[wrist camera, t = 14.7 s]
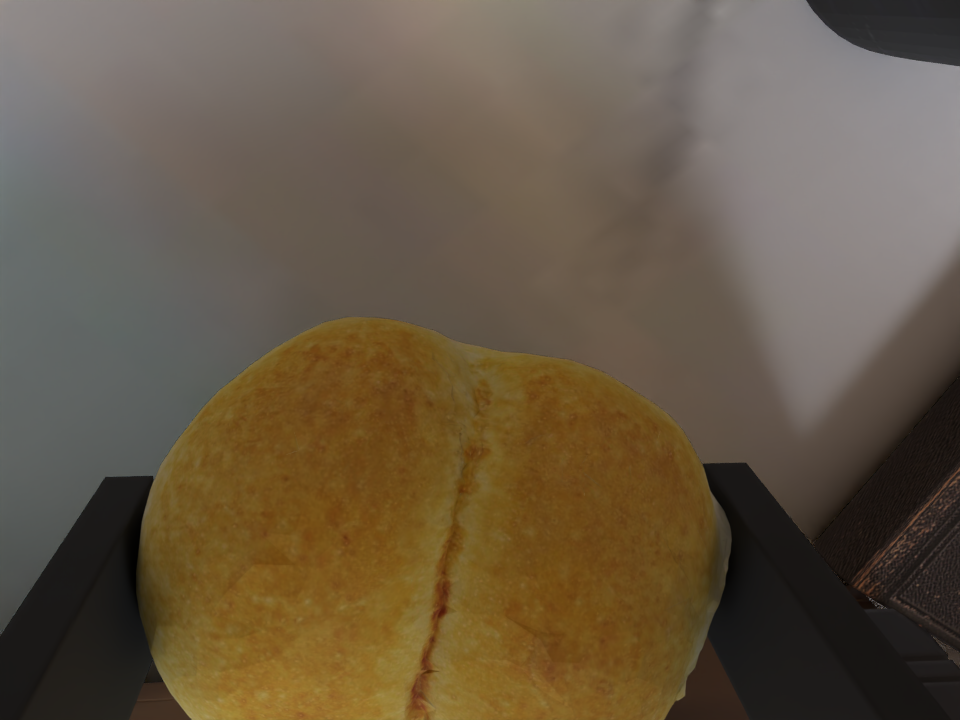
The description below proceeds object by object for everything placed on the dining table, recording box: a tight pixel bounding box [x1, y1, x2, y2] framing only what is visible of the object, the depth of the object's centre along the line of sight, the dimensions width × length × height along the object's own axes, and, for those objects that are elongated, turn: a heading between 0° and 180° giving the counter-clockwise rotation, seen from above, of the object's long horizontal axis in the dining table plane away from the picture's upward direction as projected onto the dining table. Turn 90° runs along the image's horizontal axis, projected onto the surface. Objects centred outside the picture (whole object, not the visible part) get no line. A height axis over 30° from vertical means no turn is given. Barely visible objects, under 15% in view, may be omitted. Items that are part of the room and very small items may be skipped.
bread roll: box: [136, 317, 732, 720], centre depth 14 cm, size 8×9×4 cm
